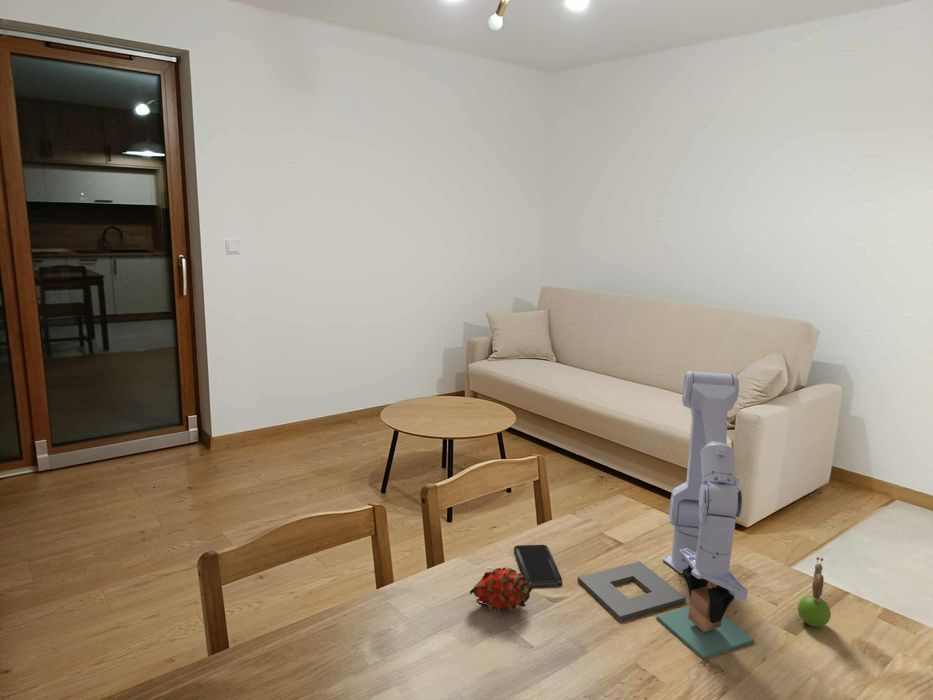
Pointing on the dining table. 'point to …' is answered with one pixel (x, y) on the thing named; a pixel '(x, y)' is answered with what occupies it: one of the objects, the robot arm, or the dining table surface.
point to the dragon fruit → (502, 590)
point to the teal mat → (705, 634)
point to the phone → (537, 565)
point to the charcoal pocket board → (626, 607)
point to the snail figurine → (815, 602)
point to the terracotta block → (701, 609)
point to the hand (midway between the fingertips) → (706, 613)
